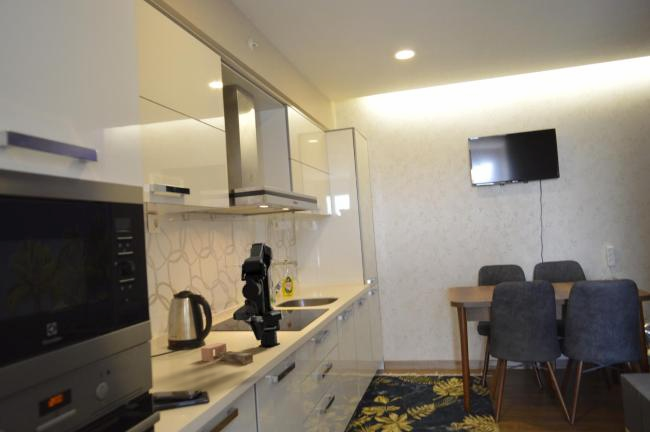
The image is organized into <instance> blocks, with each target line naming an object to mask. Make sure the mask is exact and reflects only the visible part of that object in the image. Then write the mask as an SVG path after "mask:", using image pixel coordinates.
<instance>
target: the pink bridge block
mask: <svg viewBox="0 0 650 432" xmlns="http://www.w3.org/2000/svg"><path fill="white" fill-rule="evenodd" d="M221 352H228V350H227V343H224V342H214V343H212V344H208V345H204V346H203V347H200V355H201V361H203V362H213V361H215V359H214V357H219V353H221ZM214 355H215V356H214Z"/></svg>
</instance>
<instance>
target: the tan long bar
mask: <svg viewBox="0 0 650 432" xmlns="http://www.w3.org/2000/svg"><path fill="white" fill-rule="evenodd" d="M218 359H219V360H223V362H226V363H227V362H228V363H234V364H240V365H241V364H242V365H249V364H252V363H254V355H253V353H251V352H250V353H248V352H241V351H232V350H229V351H228V350H227V352H221V353H219V356H218Z"/></svg>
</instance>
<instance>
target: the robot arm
mask: <svg viewBox="0 0 650 432" xmlns="http://www.w3.org/2000/svg"><path fill="white" fill-rule="evenodd" d="M249 255H250V256H249V257H247V258H245V259H244V260H243V263H242V264H241V273H240V274H241V276H240V279H241V281H240V282H245V284H244V285H243V286H242V289H241V294H242V296H243V298H245V299H244V304H243V305H242V306H240V307H239V308H238V309H237V310H234V311H233V314H232V320H234V321H243V322H244V323H245V324H247V325H249V326H250V328H251V330H252V332H253V335H254V337H255V340H256V341H257V342H258V341H259V342H260V344H259V345H258V347H259V348H269V349H270V348H273V347H277V346H279V345H281V343H280V342H278V335H277V332H278V331H280V330H281V324H280V320H283V317H282V316H283V315H282V312H281V311H278V310H275V309H274V307H273V306H272V301H271V300H272V299H271V288H270V275H269V273H270V272H269V269H270V268H271V265H272V262H273V260H274V258H273V255H274V254H273V250H272V248H271V247H270V246H268V245H266V243H264V242H254V243H252V244H251V248H250V254H249Z"/></svg>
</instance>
